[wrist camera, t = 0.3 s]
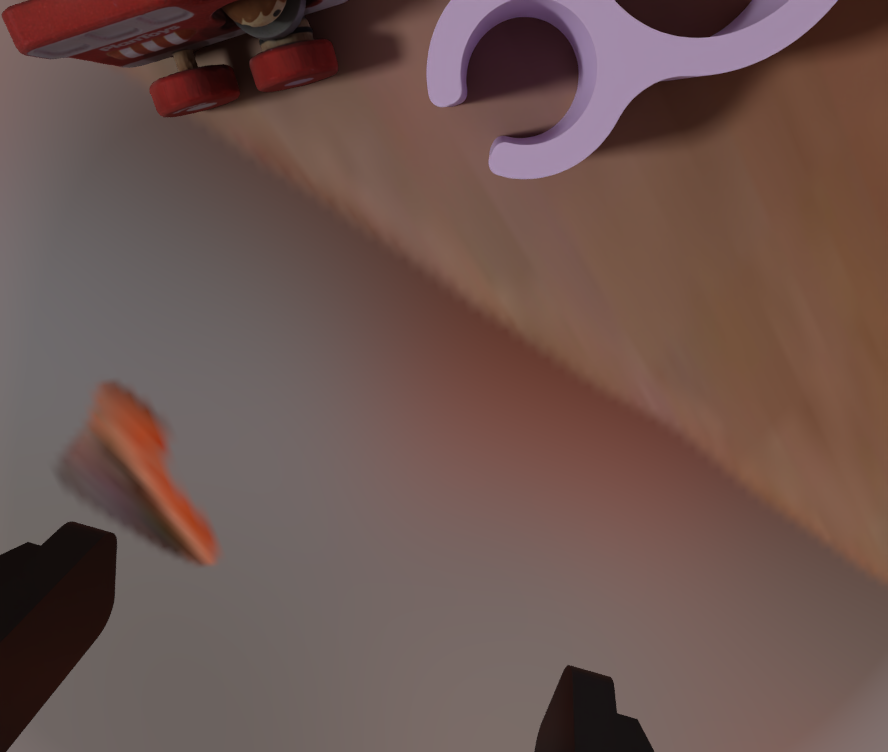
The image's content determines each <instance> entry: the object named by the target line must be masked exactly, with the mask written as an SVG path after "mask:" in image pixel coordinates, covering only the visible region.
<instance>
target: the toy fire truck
mask: <svg viewBox="0 0 888 752" xmlns="http://www.w3.org/2000/svg"><path fill="white" fill-rule="evenodd" d="M347 1H349V0H28V1H25V2H22V3H19V4H15V5H13V6H10V7H8V8H7V9H6V10H5V11H3V13H2V18H3V20H4V22H5V24H6V26H7V29H8V31H9V33H10V35H11V37H12V39H13V42H14V44H15V46H16V48H17V49H18V50H19V52H20V53H22V54H24V55H26V56H33V57H39V58H46V59H58V58H68V57H69V58H76V59H81V60H87V61H93V62H97V63H102V64H108V65H115V66H119V67H128V68H130V67H137V66H142V65H146V64H149V63H152V62H156V61H159V60H162V59H166V58H169V57H174V59H175V62H176V65H177V68H178V71H179V72H177V73H175V74H171V75H169V76H167V77H163V78H159V79H158V80H157V81H155V82H153V83H152V85H151V86H150V89H149V90H150V94H151V96H152V98H153V101H154V104H155V107H156V110H157V112H158V113H159V114H160V115H161V116H163V117H177V116H182V115H187V114H192V113H196V112H200V111H204V110H208V109H211V108H215V107H218V106H221V105H224V104H227V103H229V102H231V101H234V100H235V99H237V98H238V97H239V95H240V90H239V87H238V83H237V80H236V77H235V74H234V71H233V69H232V68H231V67H230V66H228V65H224V64H223V65H210V66H203V67H198V66H197V63H196V60H195V57H194V54H193V52H194V51H197V50H198V49H200V48H201V47H204V46H208V45H211V44H214V43H217V42H220V41H223V40H226V39H230V38H233V37H236V36H239V35H242V34H245V33H248V34H249V35H251V36H253V37H256V38H258V39H259V43H260V46H261V48H262V51H263V52H261V53H259V54H257V55H256V56H254V57H252V58H251V60H250V68H251V72H252V75H253V78H254V81H255V84H256V87H257V88H258V90H259V91H263V92H273V91H279V90H285V89H289V88H294V87H299V86H303V85H307V84H310V83H313V82H316V81H319V80H322V79H325V78H328V77H330V76H332V75H335V74H336V73H337V71H338V63H337V59H336V55H335V52H334V48H333V45H332V43H331V42H330V41H329V40H327V39H323V38H320V39H315V40H314V39H313V35H312V33H313V29H312V28H311V27H310V25H309V22H308V20H307V19H306V18H305V15H306V14H310V13H313V12H317V11H320V10H323V9H326V8H329V7H333V6H336V5H339V4H342V3H345V2H347Z"/></svg>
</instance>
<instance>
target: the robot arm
mask: <svg viewBox="0 0 888 752" xmlns="http://www.w3.org/2000/svg"><path fill="white" fill-rule="evenodd" d="M116 552H117V539H116V536H115V534H114V533H111V532H108V531H104V530H101V529H97V528H94V527H90V526H86V525H83V524H79V523H76V522H68V523H66V524H64V525H63V526H62V527H61V528H60V529H58V530H57V532H55V533H54V534H53V535H52V536H51V537H50V538H49V539H48V540H47V541H46V542H45V543H43V544H42V545H41V546H40V545H36V544H33V543H29V542H27V543H25V544H23V545H21V546H19V547H17V548H14V549H12V550H10V551H8V552H6V553H4V554H1V555H0V752H6V751H7V750H8V749H9V747H10V746H11V745H12V744H13V742H14V741H15V740H16V739H17V737H18V736H19V735H20V734H21V732H22V731H23V730H24V729H25V728H26V726H27V725H28V724H29V723H30V721H31V720H32V719H33V717H34V716H35V715H36V714H37V712H38V711H39V710H40V709H41V707H42V706H43V705H44V704H45V703H46V701H47V700H48V699H49V698H50V696H51V695H52V694H53V693H54V691H55V690H56V689H57V688H58V686H59V685H60V684H61V683H62V681H63V680H64V679H65V678H66V676H67V675H68V674H69V673H70V671H71V670H72V669H73V667H74V666H75V665H76V664H77V663H78V661H79V660H80V659H81V658H82V656H83V655H84V654H85V653H86V651H87V650H88V649H89V648H90V646H91V645H92V644H93V643H94V641H95V640H96V639H97V638H98V636H99V635H100V633H101V632H102V631H103V629H104V627H105V625H106V623H107V621H108V619H109V617H110V614H111V611H112V608H113V604H114V598H115V576H116V554H117V553H116ZM535 752H654V750H653V748H652V746H651V744H650V742H649V741H648V739H647V737H646V735H645V733H644V731H643V729H642V727H641V725H640V723H639V722H638V720H637V719H634V718H631V717H628V716H624V715H620V714H617V710H616V701H615V690H614V683H613V680H612V678H611V677H608V676H605V675H602V674H598V673H595V672H591V671H588V670H584V669H580V668H577V667H574V666H570V665H568V666H567V667H566V668H565V669H564V671H563V673H562V676H561V678H560V680H559V683H558V685H557V687H556V690H555V692H554V695H553V697H552V699H551V702H550V704H549V706H548V709H547V711H546V714H545V716H544V718H543V721H542V723H541V726H540V729H539V732H538V736H537V740H536V746H535Z"/></svg>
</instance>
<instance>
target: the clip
mask: <svg viewBox="0 0 888 752" xmlns="http://www.w3.org/2000/svg"><path fill="white" fill-rule="evenodd" d="M837 1H838V0H752V1H751V2H750V3H749V5H748V6H747V7H746V8H745V9H744V10H743V11H742V12H741V13H740V15H739V16H738V17H736V18H735V19H734V20H733V21H732V22H731V23H730V24H728V25H727V26H726V27H725V28H723V29H722V30H720V31H719V32H717V33H716V34H714V35H712V36H711V37H706V38H688V37H679V36H674V35H670V34H666V33H663V32H660V31H657V30H655V29H652V28H650V27H648V26H646V25H645V24H643V23H641V22H640V21H638V20H636V19H635V18H633V17H632V16H631V15H630V14H628V13H627V12H626V11H625V10H624V9H623V8H622V7H621V6H619V4H618V3H617V2H616V1H615V0H451V1H450V2H449V4H448V5H447V6H446V8H445V10H444V11H443V13H442V15H441V17H440V19H439V21H438V23H437V25H436V28H435V30H434V33H433V36H432V39H431V43H430V47H429V52H428V59H427V87H428V93H429V98H430V100H431V102H432V103H433V104H434V105H436V106H438V107H453V106H456V105H459V104H461V103H463V102H464V101H465V99H466V97H467V83H466V77H467V68H468V64H469V60H470V57H471V55H472V52H473V50H474V48H475V47H476V45H477V43H478V42H479V41H480V39H481V38H482V37H483V36H484V35H485V34H486V33H487V32H488V31H489V30H490V29H491V28H493V27H494V26H496V25H497V24H499V23H501V22H503V21H506V20H508V19H512V18H517V17H533V18H538V19H541V20H544V21H546V22H548V23H550V24H552V25H553V26H555V27H556V28H557V29H559V30H560V31H561V32H562V33H563V34H564V35H565V37H566V38H567V39H568V41H569V42H570V44H571V46H572V48H573V50H574V52H575V55H576V59H577V62H578V71H579V79H578V87H577V92H576V95H575V98H574V101H573V103H572V105H571V107H570V108H569V110H568V112H567V113H566V114H565V116H564V117H563V118H562V119H561V120H560V121H559V122H558V123H557V124H556V125H555V126H554V127H552V128H551V129H549V130H548V131H546V132H544V133H542V134H539V135H536V136H533V137H528V138H513V137H508V136H499V137H497V138H496V139H495V140H494V142H493V144H492V146H491V148H490V154H489V167H490V169H491V171H492V172H493V173H495V174H496V175H499V176H503V177H508V178H515V179H535V178H542V177H547V176H550V175H554V174H557V173H560V172H562V171H565V170H567V169H569V168H571V167H573V166H574V165H576V164H578V163H579V162H581V161H582V160H584V159H585V158H586V157H588V156H589V155H590V154H591V153H592V152H594V151H595V150H596V149H597V148H598V147H599V146H600V145H601V143H602V142H603V141H604V140H605V139H606V138H607V136H608V135H609V134H610V132H611V131H612V129H613V128H614V126H615V124H616V123H617V121H618V119H619V117H620V116H621V114H622V112H623V111H624V109H625V108H626V106H627V105H628V104H629V103H630V102H631V101H632V100H633V99H634V98H635V97H636V96H637V95H638V94H639V93H640V92H642V91H643V90H644V89H646V88H647V87H649V86H651V85H653V84H654V83H657V82H659V81H670V80H678V79H685V78H692V77H699V76H707V75H714V74H720V73H725V72H730V71H734V70H737V69H740V68H744V67H746V66H749V65H752V64H754V63H757V62H759V61H761V60H763V59H766V58H768V57H769V56H771V55H773V54H775V53H777V52H779V51H780V50H782V49H784V48H785V47H787V46H788V45H790V44H791V43H793V42H794V41H795V40H797V39H798V38H799V37H801V36H802V35H803V34H805V33H806V32H807V31H808V30H809V29H810V28H812V27H813V26H814V25H815V24H816V23H817V22H818V21H819V20H820V19H821V18H822V17H823V16H824V15H825V14H826V13H827V12H828V11H829V10H830V9H831V8H832V6H833V5H834V4H835V3H836V2H837Z"/></svg>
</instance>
